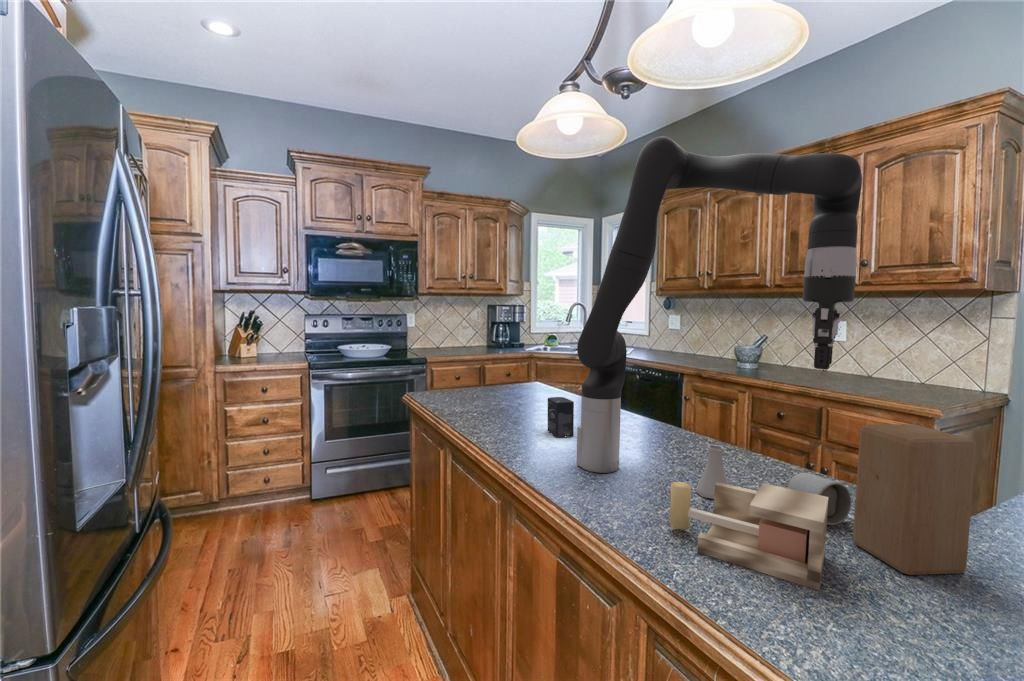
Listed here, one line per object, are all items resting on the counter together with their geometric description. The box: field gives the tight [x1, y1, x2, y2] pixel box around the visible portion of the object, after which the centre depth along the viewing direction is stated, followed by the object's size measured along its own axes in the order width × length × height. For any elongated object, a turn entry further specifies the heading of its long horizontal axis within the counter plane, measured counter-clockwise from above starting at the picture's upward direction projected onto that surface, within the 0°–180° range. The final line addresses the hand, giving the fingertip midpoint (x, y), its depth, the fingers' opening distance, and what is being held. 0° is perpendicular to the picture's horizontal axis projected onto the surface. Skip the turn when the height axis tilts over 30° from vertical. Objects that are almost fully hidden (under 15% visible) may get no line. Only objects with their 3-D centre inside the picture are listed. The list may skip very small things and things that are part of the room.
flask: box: [694, 444, 730, 500], centre depth 96 cm, size 7×7×10 cm
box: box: [547, 396, 575, 438], centre depth 141 cm, size 8×6×11 cm
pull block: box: [669, 481, 810, 564], centre depth 74 cm, size 20×6×7 cm, turn 53°
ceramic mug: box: [785, 472, 852, 526], centre depth 86 cm, size 11×8×8 cm
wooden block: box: [852, 423, 977, 576], centre depth 71 cm, size 10×10×20 cm
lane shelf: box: [696, 482, 828, 591], centre depth 72 cm, size 16×11×10 cm
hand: (822, 366), depth 83 cm, fingers open, 8 cm apart
